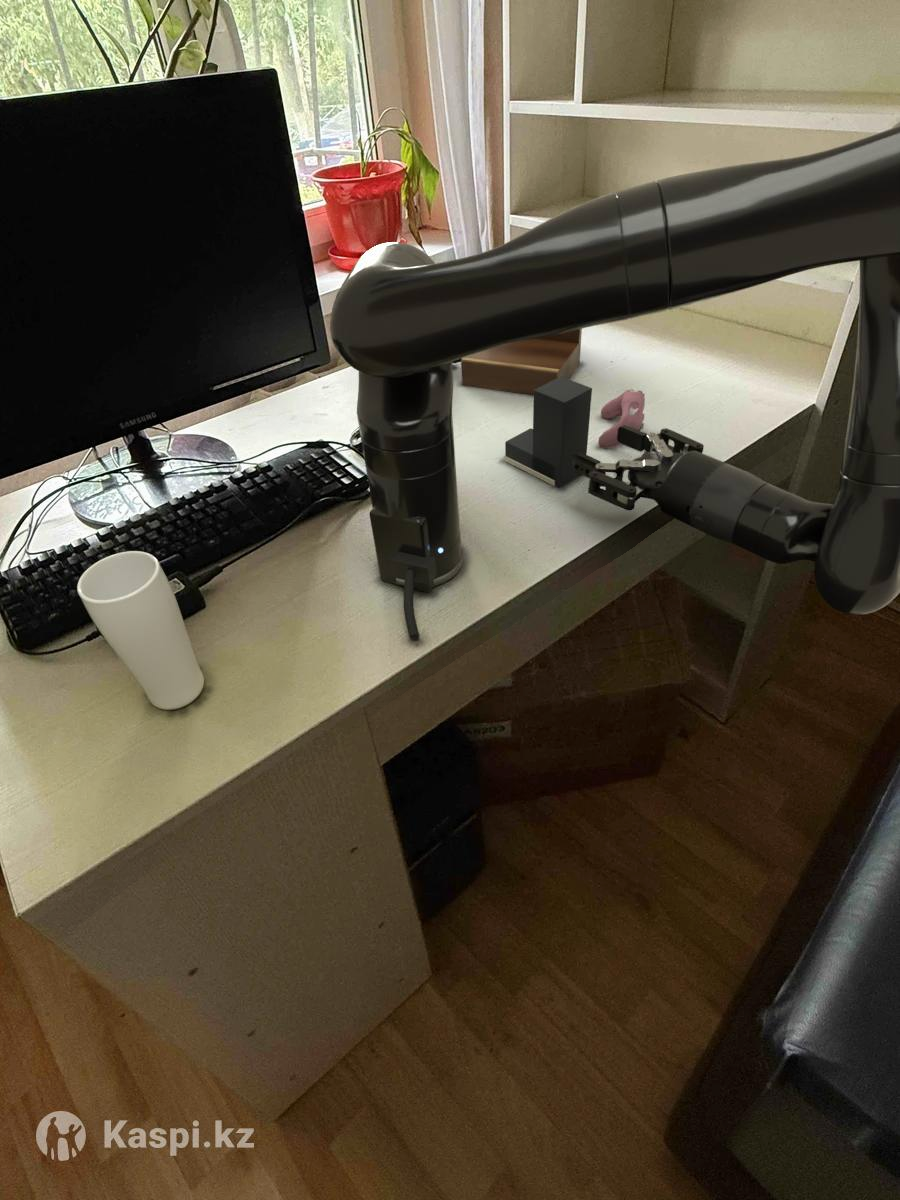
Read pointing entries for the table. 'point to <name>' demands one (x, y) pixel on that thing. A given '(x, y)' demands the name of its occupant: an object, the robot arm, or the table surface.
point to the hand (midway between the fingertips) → (596, 445)
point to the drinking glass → (143, 626)
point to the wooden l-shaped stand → (524, 363)
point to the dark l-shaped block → (553, 432)
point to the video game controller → (623, 415)
